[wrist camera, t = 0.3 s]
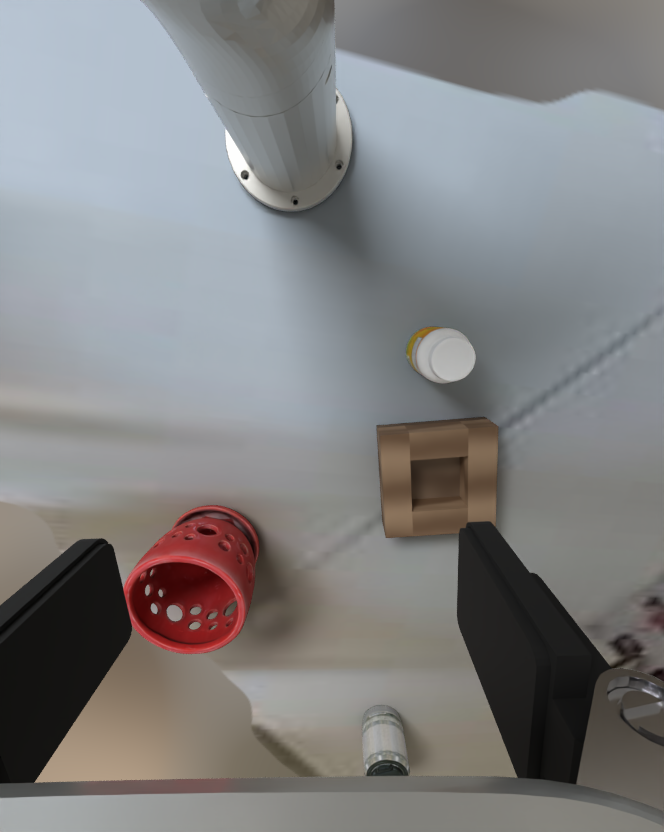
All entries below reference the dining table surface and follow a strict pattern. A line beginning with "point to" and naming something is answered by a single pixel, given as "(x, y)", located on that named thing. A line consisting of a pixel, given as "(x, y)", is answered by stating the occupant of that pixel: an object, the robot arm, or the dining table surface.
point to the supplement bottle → (440, 354)
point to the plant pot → (196, 581)
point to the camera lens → (384, 743)
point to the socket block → (437, 475)
